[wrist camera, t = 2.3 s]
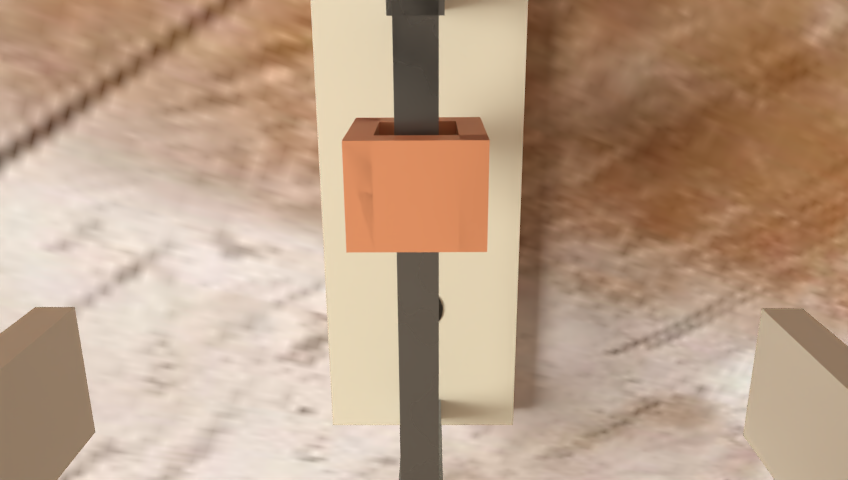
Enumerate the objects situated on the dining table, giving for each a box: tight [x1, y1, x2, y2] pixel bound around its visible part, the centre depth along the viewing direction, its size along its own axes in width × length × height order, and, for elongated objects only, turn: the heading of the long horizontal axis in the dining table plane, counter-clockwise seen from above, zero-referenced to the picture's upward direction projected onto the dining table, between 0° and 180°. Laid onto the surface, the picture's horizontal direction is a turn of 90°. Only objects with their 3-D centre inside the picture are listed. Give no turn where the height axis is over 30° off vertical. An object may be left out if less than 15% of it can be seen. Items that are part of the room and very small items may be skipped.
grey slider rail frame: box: [386, 0, 445, 480], centre depth 33 cm, size 24×2×9 cm, turn 0°
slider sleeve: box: [342, 117, 490, 253], centre depth 30 cm, size 4×5×10 cm
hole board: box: [311, 0, 528, 425], centre depth 37 cm, size 27×10×2 cm, turn 0°
